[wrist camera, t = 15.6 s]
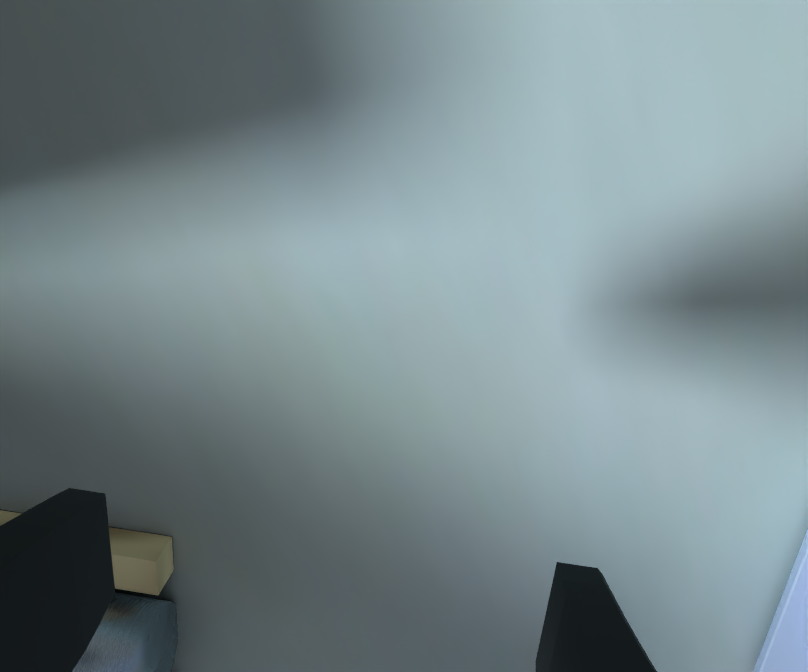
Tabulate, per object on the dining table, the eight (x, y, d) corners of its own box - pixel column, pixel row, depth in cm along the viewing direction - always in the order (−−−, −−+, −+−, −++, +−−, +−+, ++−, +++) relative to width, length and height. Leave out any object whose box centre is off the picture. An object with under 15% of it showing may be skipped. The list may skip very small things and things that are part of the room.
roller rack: (171, 536, 24) (155, 561, 23) (181, 703, 27) (167, 732, 26) (-55, 501, 24) (-81, 523, 23) (-20, 668, 28) (-41, 694, 26)
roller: (177, 576, 25) (120, 665, 21) (179, 665, 26) (126, 763, 22) (-41, 541, 25) (-133, 621, 22) (-27, 630, 27) (-112, 720, 23)
